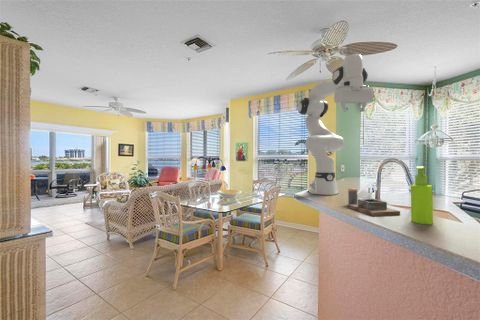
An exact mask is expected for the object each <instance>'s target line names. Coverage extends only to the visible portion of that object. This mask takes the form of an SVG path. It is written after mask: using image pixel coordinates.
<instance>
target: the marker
mask: <svg viewBox="0 0 480 320" xmlns="http://www.w3.org/2000/svg"><path fill="white" fill-rule="evenodd" d="M347 196H348V197H347V198H348V200H347V203H348V204H358V188H355V187H354V188H347ZM348 204H347V205H348Z"/></svg>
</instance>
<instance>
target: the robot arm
mask: <svg viewBox="0 0 480 320" xmlns="http://www.w3.org/2000/svg"><path fill="white" fill-rule="evenodd" d="M363 63H364V61H363V57H362V55H361V54H359V53H351V54H347V55H345V57H344V59H343V61H342V64H341V65H340V66H339V67H338V68H336V69H335V70H334V71H333V73H332V79H331V80H323V81H319V82H318V83H316V84H315V85H314V86H313V87H312V88H311V89H310V91H309V96H308V97H304V98H303V99H302V100H300V101H299V102H298V106H297V110H298V113H299V114H300V115H303V116H304V115H308V116H306V117H305V121H304V122H305V127H306V129H307V131H308V133H309V136H308V137H307V138H306V140H305V142H304V143H305V148H306V149H307V150H308V151H309V152H310V153H311V155H312V156H313V158H314V159H315V169H316V172H315V174H314V175H315V176H314V179H313V180H312V181H311V182H310V183H309V187H310V188H308V189H307V190H308V191H309V193H310V194H313V195H323V196H324V195H325V196H326V195H327V196H329V195H330V196H331V195H332V196H334V195H337V194H340V192H339V190H338V183H337V180H336V179H335V178H336V172H335V161H334V159H333V158H332V157H330V156H328V155H327V153H329V152H339V151H341V150H343V148H344V147H345V140H344V138H343V137H342V136H340V135H337V134H335V133H334V132H332V131H330V130H329V128H327V127H326V126H325V125H324V123H323V122H322V120H321V118H322V117H324V115H326V114H327V112H328V110H329V104H328V101H326V100H324V99H326V98H328V97H329V96H332V95H333V101H334V103H335V104H340V105H341V108H342V109H343V110H342V112H348V111H349V108H348V107H347V106H346V105H347V104H361V107H360V108H359V112H361V113H362V112H365V111H366V109H365V108H366V107H367V105H368V104H371V103H373V101H374V94H373V88H372V87H371V86H370V85H364V83H366V81H367V80H368V74H369V73H368V71H367V69H366V68H365V67H364V64H363ZM308 191H307V192H308Z"/></svg>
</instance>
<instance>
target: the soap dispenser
mask: <svg viewBox="0 0 480 320" xmlns="http://www.w3.org/2000/svg"><path fill="white" fill-rule="evenodd" d="M425 168H426V167H425V165H417V166H416V170H417V174H416V175H414V183H413V184H411V185H410V209H411V210H410V217H411V219H410V220H411V222H412V223H416V224H421V225H433V224H434V220H433V219H434V212H433V211H434V207H433V206H434V201H433V199H434V198H433V194H434V193H433V185H431V184H428V175H426V174H425Z"/></svg>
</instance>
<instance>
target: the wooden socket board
mask: <svg viewBox="0 0 480 320" xmlns="http://www.w3.org/2000/svg"><path fill="white" fill-rule="evenodd" d="M357 202H358V204H347V208H348V209H351V210H354V211H356V212H360V213H363V214H365V215H368V216H371V217H384V216H401V211H400V210H397V209H395V208H391V207H388V206H387V205H388V204H387V203H388V202H387V201H384V200H380V199H377V198H361V199H359V198H357Z"/></svg>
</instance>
